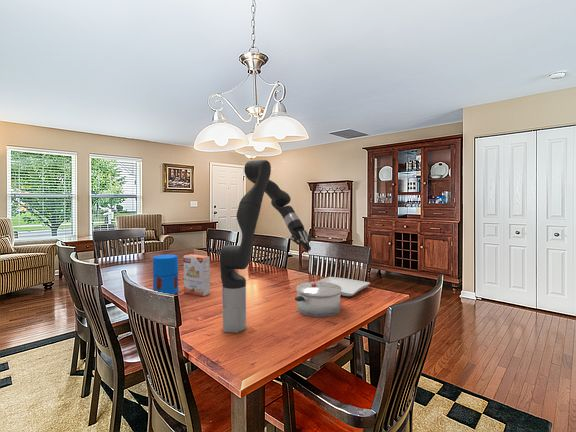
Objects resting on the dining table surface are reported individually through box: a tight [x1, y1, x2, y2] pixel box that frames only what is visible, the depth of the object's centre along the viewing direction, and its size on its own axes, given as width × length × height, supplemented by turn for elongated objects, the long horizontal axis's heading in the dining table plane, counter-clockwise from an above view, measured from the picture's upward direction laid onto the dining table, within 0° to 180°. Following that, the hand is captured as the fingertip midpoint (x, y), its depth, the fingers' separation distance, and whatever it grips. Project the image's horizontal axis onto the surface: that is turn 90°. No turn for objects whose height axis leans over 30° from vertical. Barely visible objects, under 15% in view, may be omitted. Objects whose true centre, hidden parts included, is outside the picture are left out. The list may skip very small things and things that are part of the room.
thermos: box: [152, 254, 180, 297], centre depth 146 cm, size 11×11×25 cm
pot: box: [294, 291, 341, 318], centre depth 148 cm, size 20×26×9 cm
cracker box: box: [183, 253, 211, 297], centre depth 172 cm, size 14×6×21 cm, turn 62°
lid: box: [296, 281, 342, 297], centre depth 148 cm, size 22×21×2 cm
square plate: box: [316, 276, 371, 297], centre depth 181 cm, size 27×27×4 cm
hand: (308, 250), depth 153 cm, fingers closed
